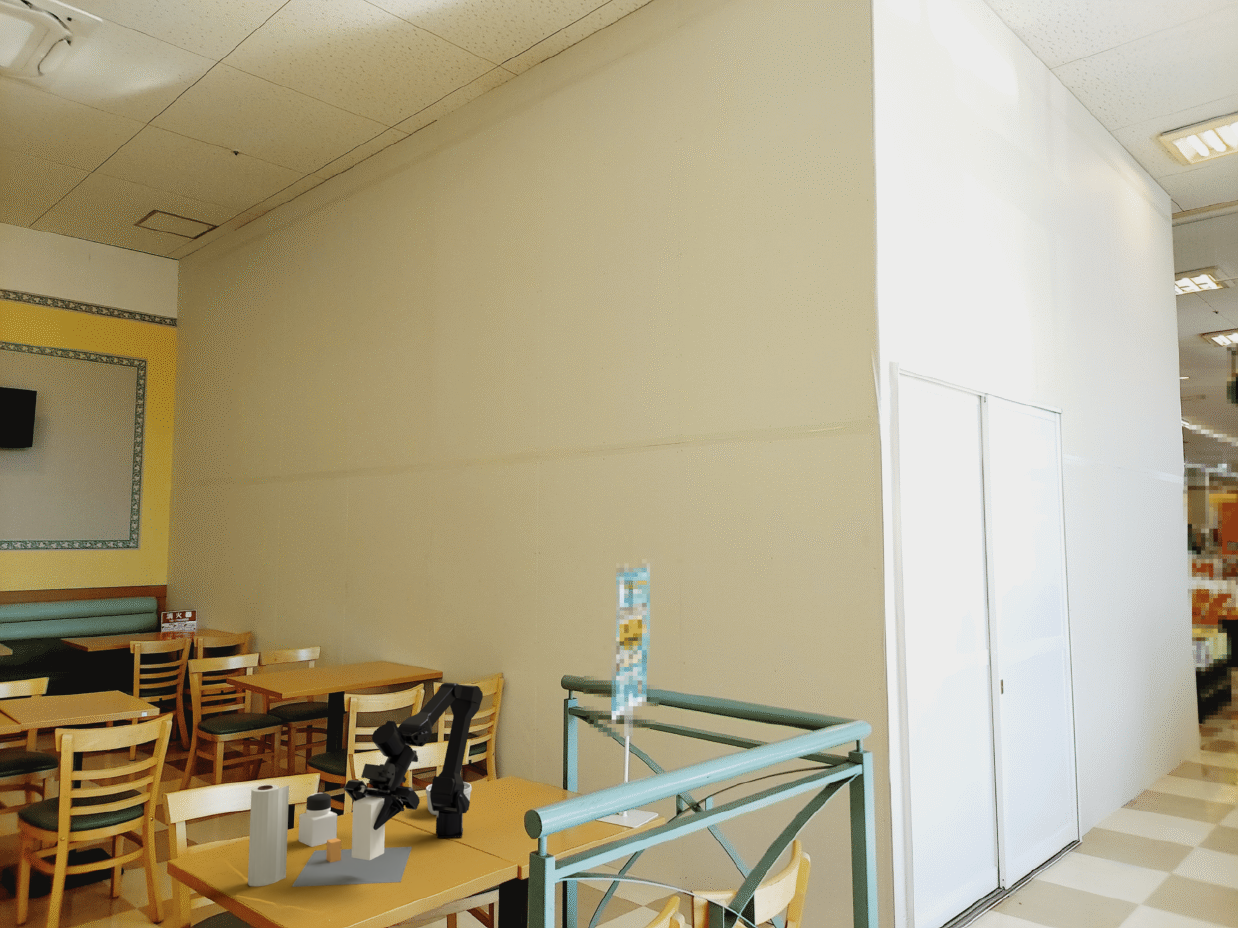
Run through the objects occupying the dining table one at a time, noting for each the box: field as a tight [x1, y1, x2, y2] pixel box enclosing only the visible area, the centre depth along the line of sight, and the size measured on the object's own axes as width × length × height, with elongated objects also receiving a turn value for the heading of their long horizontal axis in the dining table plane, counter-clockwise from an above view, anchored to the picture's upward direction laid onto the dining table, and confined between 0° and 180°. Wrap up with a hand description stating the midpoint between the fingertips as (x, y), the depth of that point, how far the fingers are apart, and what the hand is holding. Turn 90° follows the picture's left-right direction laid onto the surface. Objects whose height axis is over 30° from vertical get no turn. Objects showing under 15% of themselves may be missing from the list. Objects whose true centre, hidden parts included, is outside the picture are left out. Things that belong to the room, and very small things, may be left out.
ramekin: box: [425, 781, 472, 816], centre depth 260 cm, size 13×13×7 cm
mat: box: [291, 846, 413, 888], centre depth 213 cm, size 24×24×1 cm
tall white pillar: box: [351, 796, 386, 860], centre depth 208 cm, size 5×5×12 cm
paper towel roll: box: [247, 784, 290, 887], centre depth 204 cm, size 7×6×21 cm
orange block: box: [326, 837, 342, 863], centre depth 217 cm, size 3×3×5 cm
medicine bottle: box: [298, 792, 338, 848], centre depth 232 cm, size 7×7×12 cm
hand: (364, 827), depth 206 cm, fingers closed on tall white pillar, 5 cm apart
